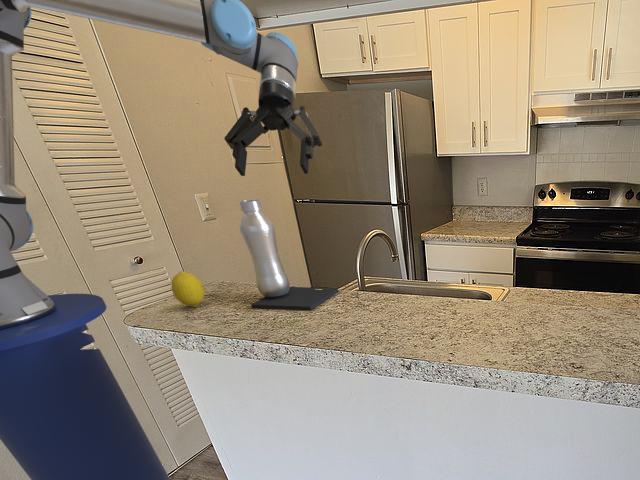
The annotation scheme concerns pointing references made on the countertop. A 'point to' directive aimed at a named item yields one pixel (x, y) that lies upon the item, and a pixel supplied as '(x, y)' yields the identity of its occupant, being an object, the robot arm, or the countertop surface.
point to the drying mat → (297, 299)
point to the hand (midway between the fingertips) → (272, 170)
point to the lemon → (187, 289)
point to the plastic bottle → (263, 250)
